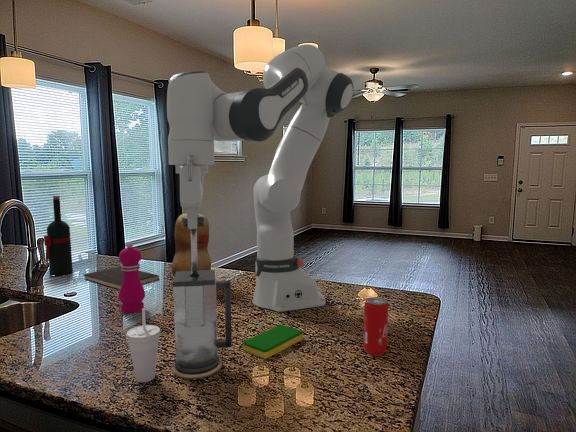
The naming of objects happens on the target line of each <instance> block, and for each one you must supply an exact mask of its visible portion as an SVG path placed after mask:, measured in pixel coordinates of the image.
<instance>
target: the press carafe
mask: <svg viewBox="0 0 576 432" xmlns="http://www.w3.org/2000/svg"><path fill="white" fill-rule="evenodd" d="M215 273H216V272H215V269H211V270H198V277H192V271H176V274H175V277H174V276H173V277H174V278H173V280H172V291H173V295H172V296H173V321H174V344H175V345H174V347H175V348H174V349H175V350H174V351H175V358H174V361H173V362H172V364H171V372H172V374H173V375H174V376H176V377H178V378H180V379H186V380H198V379H204V378H207V377H210V376H213V375H215V374H217V373H218V372H220V370H221V369H222V367H223V359H222V357H220V355H219V353H218V352H219V351H218V350H219V349H224V348H232V347H233V345H232V344H233V343H232V342H233V341H232V339H233V338H232V291H231V289H232V287H231V285H232V283H231V282H232V281H231V280H218V281H217V278H216V274H215ZM219 289H224V317H225V318H224V325H225V327H224V329H225V330H224V332H225V339H218V316H217V315H218V314H217V290H219ZM216 372H217V373H216Z"/></svg>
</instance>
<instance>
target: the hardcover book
mask: <svg viewBox="0 0 576 432" xmlns="http://www.w3.org/2000/svg"><path fill="white" fill-rule="evenodd" d="M121 269H122V267H121V265H120V266H115V267H111V268H107V269H102V270H97V271H92V272H87V273H84V274H82V275H83V276H84V279H85V280H87V279H88V280H87V281H90V280H92V281H91V282H93V281H95V282H94V283H97V282H98V283H97V284H100V283H101V285H105V286H107V287H111V288H115V289H118V290H120V288H121V286H122V283H123V271H122V270H121ZM138 274H139V279H140V282H141V284H142V285H144V284H146V282H147V283H149V282H154V281H157V279H158V280H159V279H160V276H159V275H158V274H155V273H151V272H147V271H143V270H140V269H139V270H138Z"/></svg>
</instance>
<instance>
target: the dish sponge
mask: <svg viewBox="0 0 576 432" xmlns="http://www.w3.org/2000/svg"><path fill="white" fill-rule="evenodd" d="M303 333H304V331H303V330H301V329H298V328H294V327H291V326H287V325H285V324H279V325H277V326H275V327H273V328H271V329H268V330H266V331H263V332H261V333H259V334H257V335H255V336H252V337H251V338H248V339H246V340H244V341H243V344H242V345H243V346H242V349H243V351H244V352H246V353H248V354H251V355H255V356H256V357H259V358H262V359H264V360H265V359H266V360H267V359H268V358H271V357H272V356H273V355H276V354H278V353H279V352H281V351H283V350H285V349H287V348H289V347H291V346H292V345H294V344H297V343H298V342H300V341H303V339H304V338H303V337H304V334H303Z"/></svg>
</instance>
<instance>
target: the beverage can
mask: <svg viewBox="0 0 576 432" xmlns="http://www.w3.org/2000/svg"><path fill="white" fill-rule="evenodd" d="M363 307H364V309H363V310H364V311H363V312H364V314H363V315H364V317H363V349H364V352H365V353H366V354H367V355H369V356H372V357H380V356H383V355H385V353H386V351H387V350H388V349H387V348H388V325H389V323H388V322H389V321H388V320H389V304H388V300H387V299H385V298H383V297H376V296H375V297H374V296H373V297H372V296H371V297H367V298H366V299H365V302H364V306H363Z"/></svg>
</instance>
